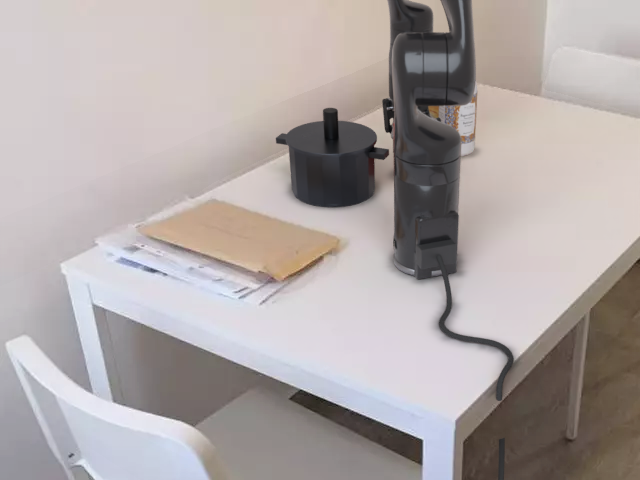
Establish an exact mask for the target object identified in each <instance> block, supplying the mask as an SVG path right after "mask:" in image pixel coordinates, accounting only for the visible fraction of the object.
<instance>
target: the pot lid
mask: <svg viewBox="0 0 640 480" xmlns="http://www.w3.org/2000/svg"><path fill="white" fill-rule="evenodd" d="M286 134H287V135H286V143H287V145H286V146H288V148H289V147H290V148H291V149H293V150H295V151H297V152H299V153H302V154H306V155H311V156H319V157H341V156H349V155H354V154H358V153H361V152H364V151H366V150H368V149H370V148H372V147H373V146H374V147H375V145H376V144H377V142H378V135H377V133H376V131H374V129H372V128H371V127H369V126H367V125H364V124H361V123H358V122H353V121H347V120H339V110H338V108H336V107H325V108H323V109H322V120H318V121H311V122H306V123H304V124H300V125H297V126H295V127H294V128H291V129H290V130H289V131H288V132H287V133H286Z"/></svg>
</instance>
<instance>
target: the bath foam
mask: <svg viewBox="0 0 640 480" xmlns="http://www.w3.org/2000/svg"><path fill="white" fill-rule="evenodd" d="M477 108H478V84H477V82H476V83H475V91H474V95H473V98H472V100H471V101H470V102H469V103H468V104H467V105H463V106H445V105H444V106H439V118H440V119H441V122H443V123H445V124H448V125H450V126H452V127H453V128H455V129H456V130H457V131H458V132H459V134H460V136H461V157H464V156H467V155H468V156H469V155H470V154H472V153H473V152H475V148H476V147H475V145H476V129H477V110H478V109H477Z"/></svg>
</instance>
